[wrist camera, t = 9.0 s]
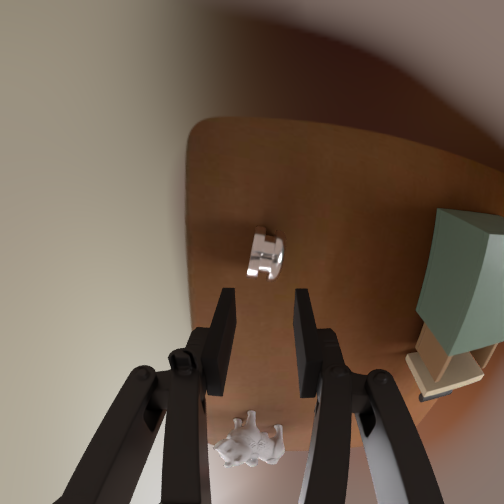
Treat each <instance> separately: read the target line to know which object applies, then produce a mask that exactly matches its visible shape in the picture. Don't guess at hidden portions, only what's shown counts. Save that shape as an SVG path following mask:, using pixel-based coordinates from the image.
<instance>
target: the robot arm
mask: <svg viewBox="0 0 504 504" xmlns="http://www.w3.org/2000/svg"><path fill="white" fill-rule="evenodd" d="M236 323H237V321H236V304H235V288H223V289H222V292H221V295H220V298H219V301H218V304H217V307H216V310H215V313H214V317H213V320H212V323H211V326H210V328H203V327H197V328H196V329H195V330H193V331H192V332H191V335H190V337H189V340H188V342H187V345H186V347H185V348H180V349H176V350H174V351H172V352H171V353H170V354H169V357H168V360H169V363H170V366H171V369H170V370H168V371H160V372H155V370H154V369H153V368H152V367H150V366H147V365H142V366H138V367H136V368H134V369H133V371H131V373H130V375H129V376H128V378H127V380H126V381H125V383H124V385H123V386H122V388H121V390H120V391H119V393H118V395H117V396H116V398H115V400H114V401H113V403H112V405H111V406H110V408H109V410H108V412H107V413H106V415H105V417H104V419H103V420H102V422H101V424H100V426H99V428H98V429H97V431H96V433H95V434H94V436H93V438H92V440H91V442H90V443H89V445H88V447H87V449H86V451H85V453H84V454H83V456H82V458H81V460H80V462H79V464H78V466H77V467H76V470H75V471H74V473H73V475H72V477H71V479H70V481H69V483H68V485H67V487H66V489H65V491H64V493H63V495H62V496H61V497H60V498H59V499H58V500H57V501H55V502H54V503H53V504H129V503H130V501H131V498H132V496H133V493H134V490H135V488H136V485H137V483H138V480H139V477H140V475H141V473H142V470H143V468H144V465H145V463H146V460H147V458H148V455H149V453H150V450H151V448H152V445H153V443H154V440H155V438H156V435H157V433H158V431H159V428H160V426H161V423H162V421H163V419H164V416H165V414H166V411H167V415H166V424H165V436H164V449H163V467H162V489H161V502H160V503H159V504H211V492H210V478H209V463H208V445H207V444H208V443H207V417H206V399H205V394H206V390H207V394H208V395H212V396H223V392H224V386H225V381H226V376H227V370H228V365H229V360H230V355H231V349H232V344H233V339H234V334H235V328H236ZM293 326H294V336H295V346H296V356H297V366H298V377H299V389H300V398H314V397H315V396H316V392H317V398H318V399H317V403H316V407H315V410H314V412H315V416H314V423H313V430H312V436H311V442H310V448H309V454H308V459H307V465H306V469H305V474H304V479H303V484H302V489H301V493H300V497H299V502H298V504H345V497H346V489H347V480H348V469H349V457H350V442H351V415H352V413H355V417H356V420H357V424H358V427H359V431H360V434H361V438H362V441H363V445H364V449H365V452H366V456H367V460H368V464H369V468H370V472H371V476H372V480H373V484H374V488H375V492H376V497H377V501H378V504H444V502H443V498H442V496H441V493H440V489H439V486H438V483H437V481H436V478H435V475H434V473H433V469H432V467H431V464H430V461H429V459H428V456H427V454H426V451H425V449H424V446H423V444H422V441H421V439H420V437H419V434H418V432H417V429H416V427H415V424H414V422H413V420H412V417H411V415H410V413H409V411H408V408H407V406H406V404H405V402H404V400H403V397H402V395H401V393H400V391H399V389H398V387H397V385H396V383H395V381H394V378H393V376H392V375H391V374H390V373H389V372H387V371H385V370H382V369H376V370H373V371H371V372H370V373H369V374H368V375H361V374H356V373H353V372H351V370H350V369H349V367H348V366H346V365H345V363H344V360H343V356H342V353H341V349H340V346H339V343H338V339H337V336H336V333H335V332H334V331H333V330H332V329H331V328H327V329H317V328H316V324H315V319H314V315H313V310H312V306H311V302H310V298H309V293H308V289H295V305H294V319H293Z"/></svg>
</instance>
